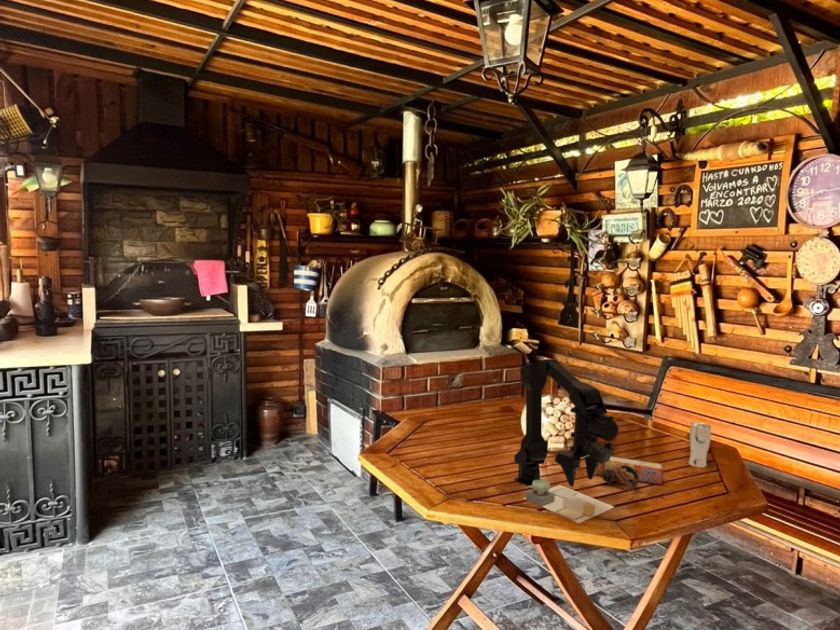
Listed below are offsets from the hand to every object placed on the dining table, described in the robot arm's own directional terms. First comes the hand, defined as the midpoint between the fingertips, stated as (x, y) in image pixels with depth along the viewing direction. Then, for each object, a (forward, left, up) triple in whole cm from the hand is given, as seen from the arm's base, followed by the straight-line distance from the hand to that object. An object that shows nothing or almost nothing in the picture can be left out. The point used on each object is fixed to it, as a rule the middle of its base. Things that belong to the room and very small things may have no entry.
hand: (580, 482), depth 171 cm
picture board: (-5, +2, -9) cm, 11 cm away
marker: (0, 0, -9) cm, 9 cm away
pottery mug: (-4, +27, -10) cm, 29 cm away
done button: (-11, -4, -8) cm, 14 cm away
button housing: (-11, -4, -9) cm, 15 cm away
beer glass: (+2, +71, -9) cm, 72 cm away
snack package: (-6, +38, -10) cm, 39 cm away
